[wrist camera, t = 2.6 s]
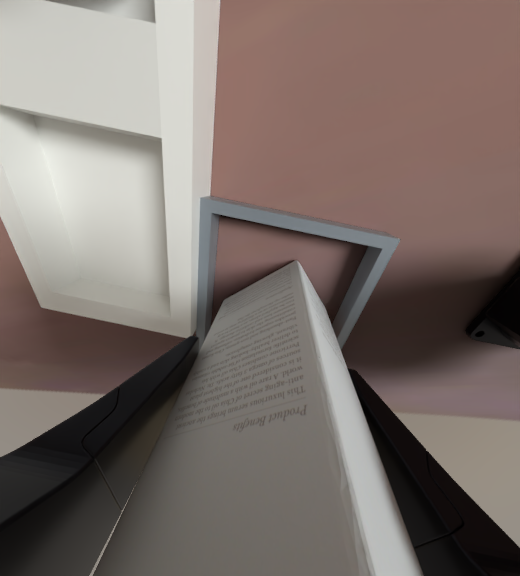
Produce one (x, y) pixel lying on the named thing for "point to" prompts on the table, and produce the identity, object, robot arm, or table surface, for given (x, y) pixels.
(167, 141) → the divided desk organizer
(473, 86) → the table surface
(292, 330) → the skincare box
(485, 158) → the table surface
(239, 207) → the gray rectangular frame
